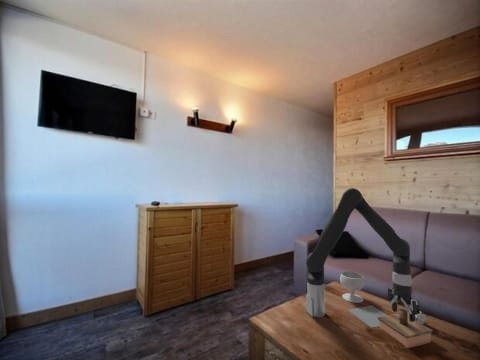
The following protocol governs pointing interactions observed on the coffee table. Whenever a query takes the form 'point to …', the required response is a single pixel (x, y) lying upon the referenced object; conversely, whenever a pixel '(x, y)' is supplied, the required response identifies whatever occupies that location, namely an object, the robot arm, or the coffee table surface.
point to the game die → (420, 318)
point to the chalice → (352, 285)
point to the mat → (368, 315)
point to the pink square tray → (405, 342)
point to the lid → (404, 325)
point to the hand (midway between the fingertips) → (403, 316)
